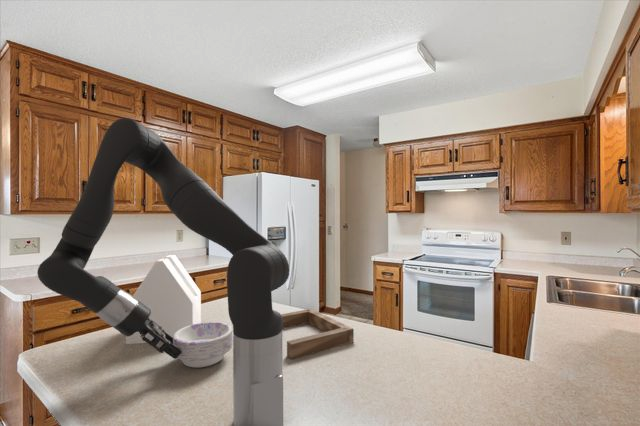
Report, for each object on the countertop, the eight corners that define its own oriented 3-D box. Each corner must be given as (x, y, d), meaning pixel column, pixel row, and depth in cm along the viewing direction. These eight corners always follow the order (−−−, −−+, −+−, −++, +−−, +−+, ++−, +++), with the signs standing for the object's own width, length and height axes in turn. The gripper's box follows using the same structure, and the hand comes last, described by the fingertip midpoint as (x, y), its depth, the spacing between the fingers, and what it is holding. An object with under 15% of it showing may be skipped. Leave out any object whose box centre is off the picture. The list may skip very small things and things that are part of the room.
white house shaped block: (125, 344, 99) (125, 262, 99) (143, 327, 114) (142, 255, 114) (192, 339, 103) (192, 260, 103) (200, 323, 118) (200, 254, 118)
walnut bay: (353, 341, 100) (353, 328, 100) (291, 359, 89) (291, 344, 89) (311, 319, 121) (311, 308, 121) (256, 331, 110) (256, 319, 110)
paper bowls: (168, 377, 79) (167, 344, 79) (177, 351, 94) (177, 324, 94) (233, 369, 83) (233, 338, 83) (232, 345, 98) (232, 319, 98)
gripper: (139, 306, 74) (192, 346, 80) (134, 293, 86) (181, 328, 92) (111, 334, 71) (168, 373, 77) (110, 317, 83) (160, 352, 89)
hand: (175, 349), depth 85 cm, fingers open, 8 cm apart
